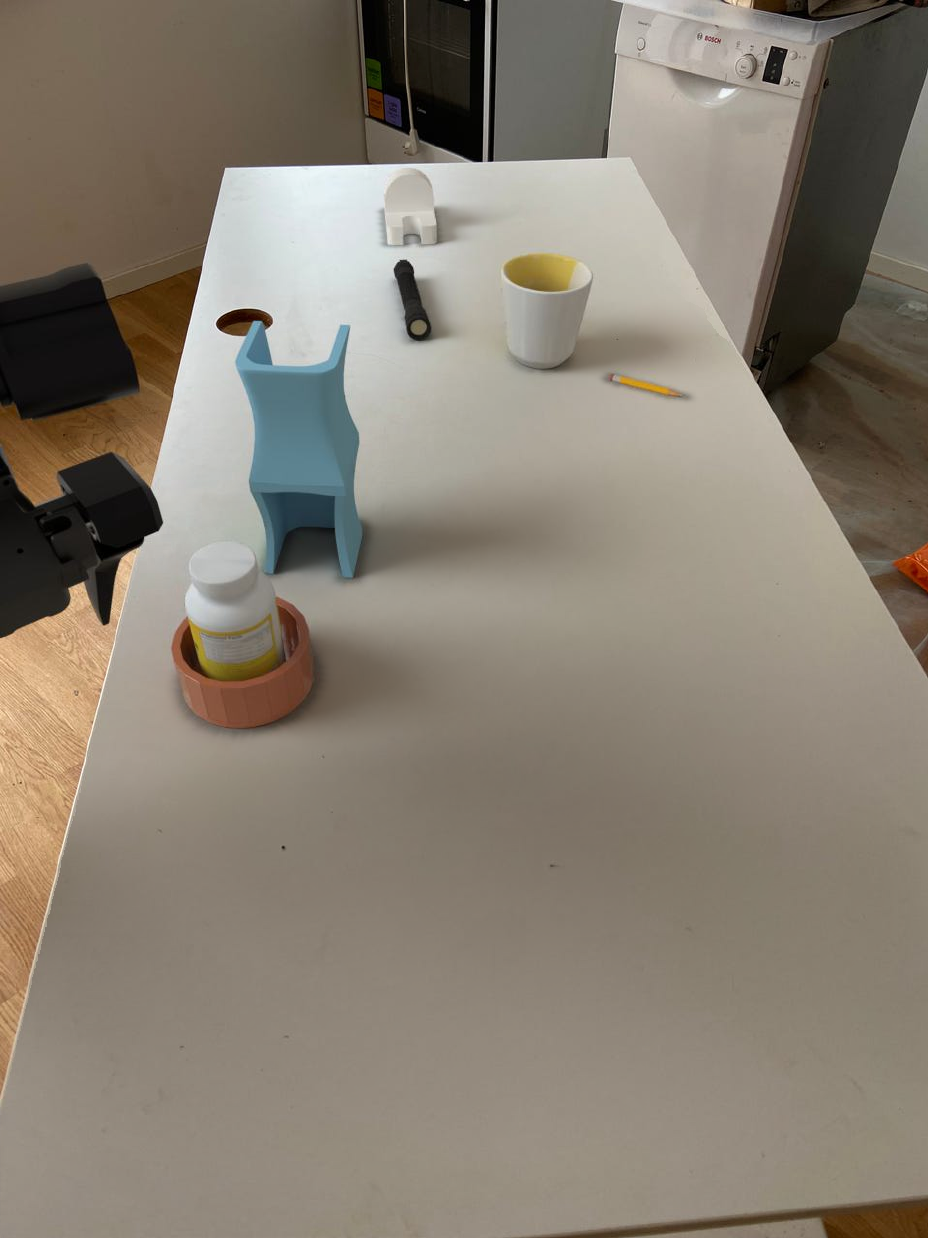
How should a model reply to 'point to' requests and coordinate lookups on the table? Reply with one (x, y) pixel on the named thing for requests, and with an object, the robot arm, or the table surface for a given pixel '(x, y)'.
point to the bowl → (254, 696)
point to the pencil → (643, 385)
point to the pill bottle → (233, 614)
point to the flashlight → (412, 302)
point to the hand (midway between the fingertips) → (32, 653)
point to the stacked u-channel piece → (302, 446)
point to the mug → (544, 306)
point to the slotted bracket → (409, 207)
